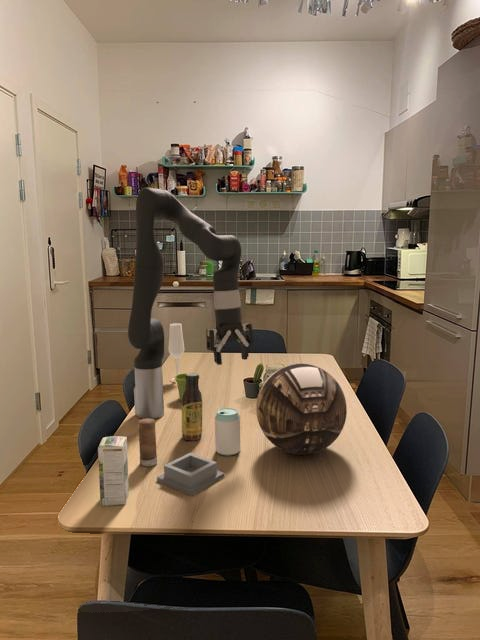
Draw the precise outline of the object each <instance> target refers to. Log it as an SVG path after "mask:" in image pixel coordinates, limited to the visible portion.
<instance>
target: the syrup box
mask: <svg viewBox="0 0 480 640" xmlns="http://www.w3.org/2000/svg"><path fill="white" fill-rule="evenodd" d="M97 452H98V453H97V454H98V455H97V457H98V459H97V460H98V479H99V498H100V499H99V500H100V503H99V504H100V506H101V507H102V506H103V507H107V506H122V505H126V504H127V500H128V496H129V491H130V489H129V466H128V465H129V461H128V439H127V436H119V435H118V436H113V435H112V436H105V437H102V439H101V441H100V443H99V445H98V447H97Z"/></svg>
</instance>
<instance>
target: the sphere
mask: <svg viewBox="0 0 480 640" xmlns="http://www.w3.org/2000/svg"><path fill="white" fill-rule="evenodd" d="M255 404H256V406H255V408H256V409H255V411H256V418H257V422H258V424H259V428H260V429H261V431H262V433H263V434H264V436H265V438H266V439H267V440H268V441H269V442H270V443H271V444H272V445H274V446H275V447H276V448H277V449H280V450H282V451H283V452H286V453H289V454H293V455H299V456H306V455H312V454H316V453H319V452H321V451H324V450H325V449H327V448H328V447H330V446H331V445H332V444H333V443H334V442H335V441H336V440H337V439H338V437H339V436H340V434H341V433H342V431H343V430H344V426H345V424H346V421H347V413H348V412H347V411H348V409H347V400H346V395H345V394H344V391H343V389H342V387H341V385H340V384H339V383H338V381H337V380H336V378H334V376H333V375H331V374H330V373H329V372H328V371H326V370H325V369H323V368H321V367H320V366H316V365H314V364H313V365H312V364H308V363H293V364H289V365H285V366H283V367H281V368H279V369H277V370H275V371H274V372H273V373H271V374H270V375H269V376H268V377H267V379H266V380H265V381H264V382H263V384H261V388H260V389H259V391H258V395H257V399H256V403H255Z"/></svg>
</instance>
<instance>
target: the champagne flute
mask: <svg viewBox="0 0 480 640" xmlns="http://www.w3.org/2000/svg"><path fill="white" fill-rule="evenodd" d="M182 325H183V324H182V323H170V324H169V333H168V334H169V335H168V353H169V354H170V356H171V357H172V358H174V359H175V376H176V375H178V374H180V369H179V358H180V357H182V355H184V352H185V342H184V335H183V327H182ZM171 379H172V380H175V381H176V379H175V378H174V377H172V378H171Z"/></svg>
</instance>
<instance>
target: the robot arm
mask: <svg viewBox="0 0 480 640" xmlns="http://www.w3.org/2000/svg"><path fill="white" fill-rule="evenodd" d="M135 201H136V202H135V221H136V238H135V239H136V243H135V245H136V246H135V247H136V248H135V258H134V269H133V270H134V272H133V273H134V274H133V275H134V276H133V290H132V291H133V292H132V301H131V302H132V303H131V310H130V317H129V320H128V327H127V337H128V341H129V343H130V345H132V347H133V348H134V349H137V350H139V352H138V353H137V355H136V357H134V360H133V367H134V382H135V383H134V384H135V387H133V396H134V399H133V400H134V415H136V414H137V415H136V417H137V416H138V417H137V418H139V417H140V418H139V419H141V418H143V419H154V418H155V419H159V418H161V417H163V416H164V414H165V403H164V381H163V380H164V379H163V377H164V375H163V360H164V357H165V331H164V327H163V324H162V322H161V321H160V320H159V319H158V318H154V317H152V309H153V306H154V303H155V301H156V299H157V297H158V295H159V292H160V290H161V288H162V285H163V282H164V272H165V271H164V268H165V260H164V257H163V254H162V252H161V251H162V250H161V249H160V247H159V244H158V243H157V240H156V237H155V220H157V219H158V220H167V221H170V222H172V223H174V224H176V225H177V226H178V229H179V231H180V234H182V235H183V236H184V237H185V238H186V239H187V240H188V241H190V242H192V243H193V244H195V245H196V246H197V248H198V249H199V250H200V251H201V252H202V254H203V255H204V256H205V257H206V258H207V259H209V260H211V261H214V262H221V266H220V268H219V269H217V270H215V271H213V274H212V279H213V280H212V281H213V303H214V306H213V307H214V318H215V319H214V320H215V325H216V326H215V328H212V329H211V328H207V329H206V333H205V335H206V336H205V337H206V340H205V341H206V350H207V351H212V353H213V357H214V358H213V360H214V363H216V365H218V366H220V365H222V364H223V361H222V360H223V358H222V352H221V350H222V348H223V346H224V345H225V344H226V343H230V342H232V341H233V342H236V341H237V342H238V343H239V345H241V346H240V353H241V359H242V360H246V361H247V360H248V358H249V346H250V345H252V344H254V342H255V341H254V332H253V325H252V323H248V322H245V323H242V321H243V319H242V317H243V316H242V315H243V314H242V306H241V304H242V303H241V295H240V290H239V288H240V287H239V277H238V274H239V271H240V264H241V258H242V245H241V242H240V240H239V238H238V237H236V236H235V235H231V234H226V235H225V234H224V235H217V231H216V229H215V227H213V225H211V224H210V223H208V222H206V221H205V220H204V219H202V218H201V217H199V216H197V215H196V214H194V213H193V212H191V211H190V210H189V209H188V208H187V207H186V206H185V205H184V204H182V203H181V202H180V200H178V199H177V197H175V196H174V194H172V193H171V192H170V191H168V190H166V189H161V188H155V187H143V188H141V189H140V190H139V191H138V193H137V196H136V200H135ZM243 331H244V335H243V334H242V332H243ZM216 335H217V336H216ZM215 337H216V339H215ZM158 417H159V418H158ZM155 419H154V420H155Z"/></svg>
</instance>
